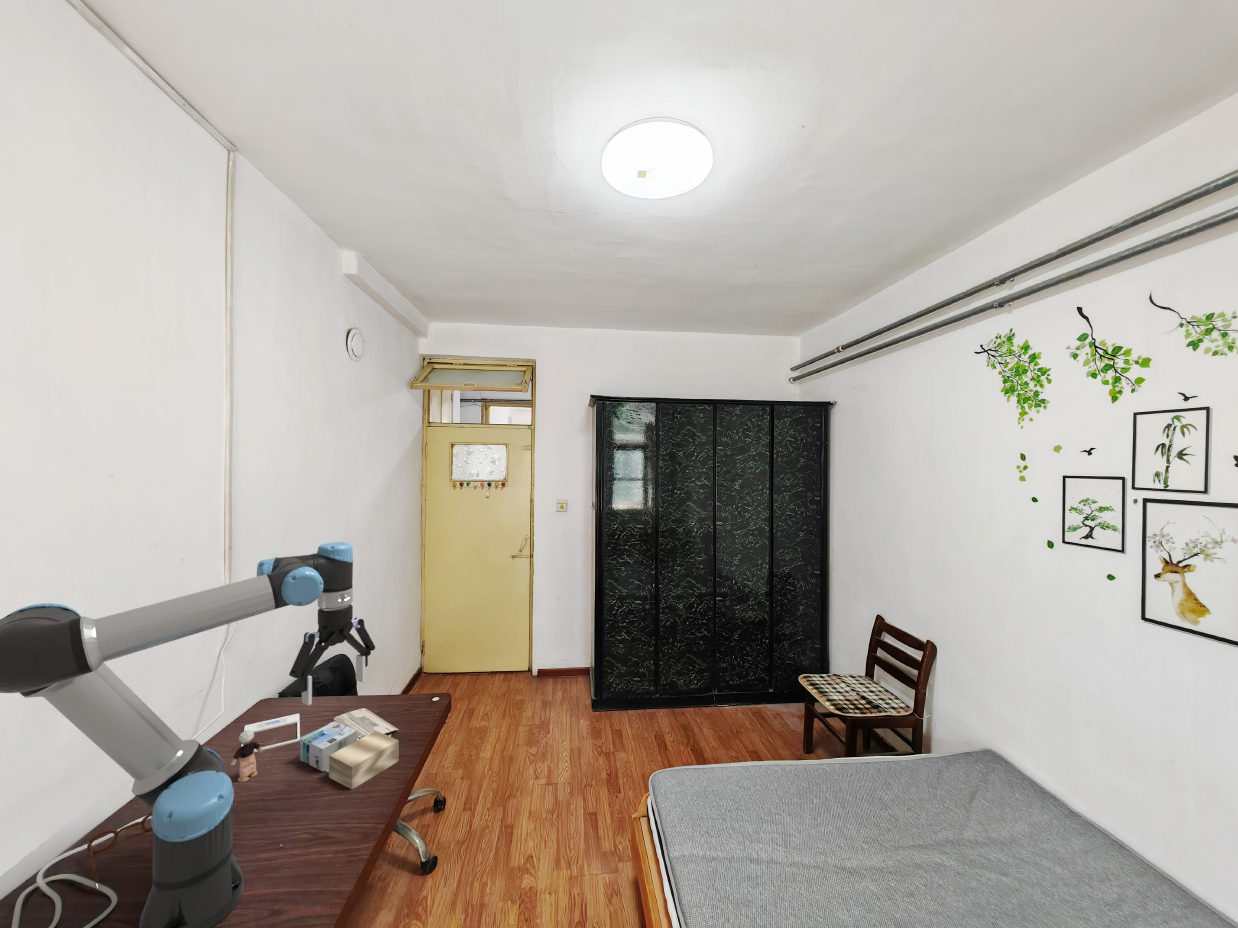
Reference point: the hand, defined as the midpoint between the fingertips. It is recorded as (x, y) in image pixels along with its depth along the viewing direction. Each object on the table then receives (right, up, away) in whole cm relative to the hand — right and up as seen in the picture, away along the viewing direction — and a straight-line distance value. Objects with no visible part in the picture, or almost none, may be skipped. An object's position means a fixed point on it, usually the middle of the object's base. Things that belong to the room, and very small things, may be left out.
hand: (334, 691), depth 123 cm
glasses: (-35, -29, -15) cm, 48 cm away
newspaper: (-11, -29, +36) cm, 48 cm away
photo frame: (-38, -28, +32) cm, 57 cm away
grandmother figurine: (-30, -28, +11) cm, 43 cm away
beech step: (0, -29, +15) cm, 32 cm away
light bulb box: (-8, -25, +18) cm, 32 cm away
